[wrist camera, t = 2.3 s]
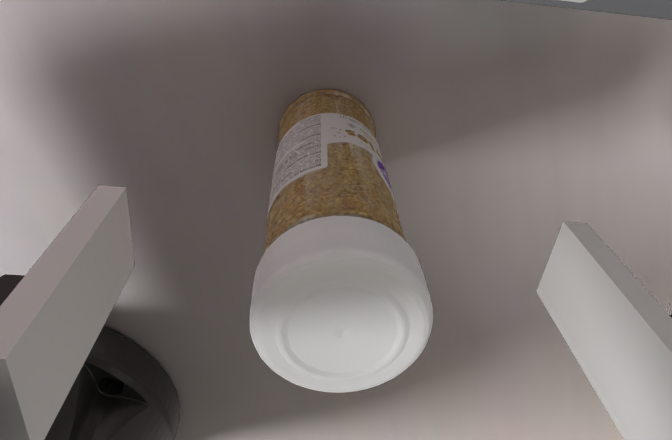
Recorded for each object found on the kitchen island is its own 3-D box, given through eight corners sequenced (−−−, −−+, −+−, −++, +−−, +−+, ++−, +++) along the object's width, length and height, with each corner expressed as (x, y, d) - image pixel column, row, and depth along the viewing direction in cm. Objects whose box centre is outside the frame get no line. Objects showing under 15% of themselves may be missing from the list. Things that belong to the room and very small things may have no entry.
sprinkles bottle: (392, 142, 24) (471, 346, 13) (316, 194, 25) (323, 424, 14) (336, 64, 22) (367, 220, 11) (255, 124, 23) (205, 324, 12)
